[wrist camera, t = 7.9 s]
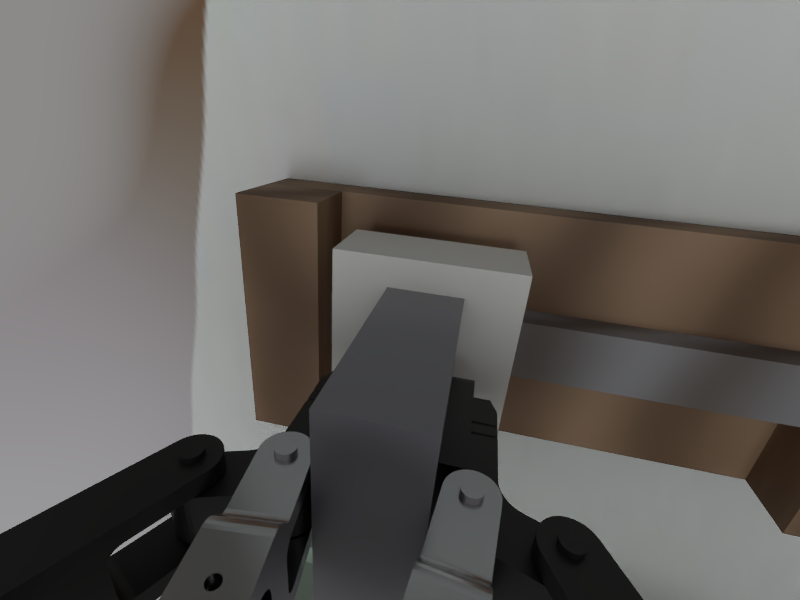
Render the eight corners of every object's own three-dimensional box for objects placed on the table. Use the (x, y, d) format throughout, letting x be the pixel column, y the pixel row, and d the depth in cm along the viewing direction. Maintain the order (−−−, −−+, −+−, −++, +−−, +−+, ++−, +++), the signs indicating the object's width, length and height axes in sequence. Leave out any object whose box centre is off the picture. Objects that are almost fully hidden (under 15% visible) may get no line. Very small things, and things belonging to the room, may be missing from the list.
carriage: (526, 251, 14) (565, 409, 6) (487, 433, 17) (482, 681, 10) (356, 229, 15) (212, 344, 7) (351, 405, 18) (248, 612, 11)
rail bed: (942, 252, 14) (1097, 298, 10) (801, 467, 18) (877, 553, 15) (287, 178, 18) (235, 193, 14) (295, 370, 22) (256, 419, 18)
